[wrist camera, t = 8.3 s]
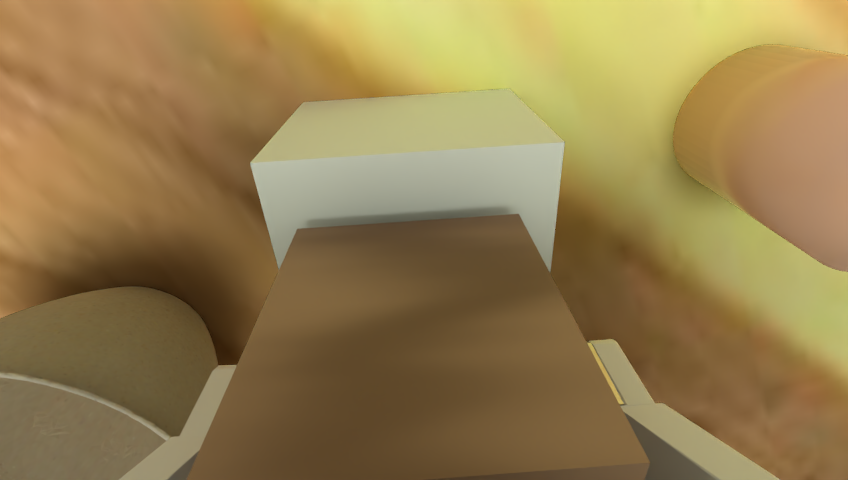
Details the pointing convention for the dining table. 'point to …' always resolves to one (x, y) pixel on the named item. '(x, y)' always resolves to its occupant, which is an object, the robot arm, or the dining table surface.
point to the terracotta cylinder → (775, 143)
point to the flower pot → (97, 382)
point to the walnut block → (418, 365)
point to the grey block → (410, 164)
